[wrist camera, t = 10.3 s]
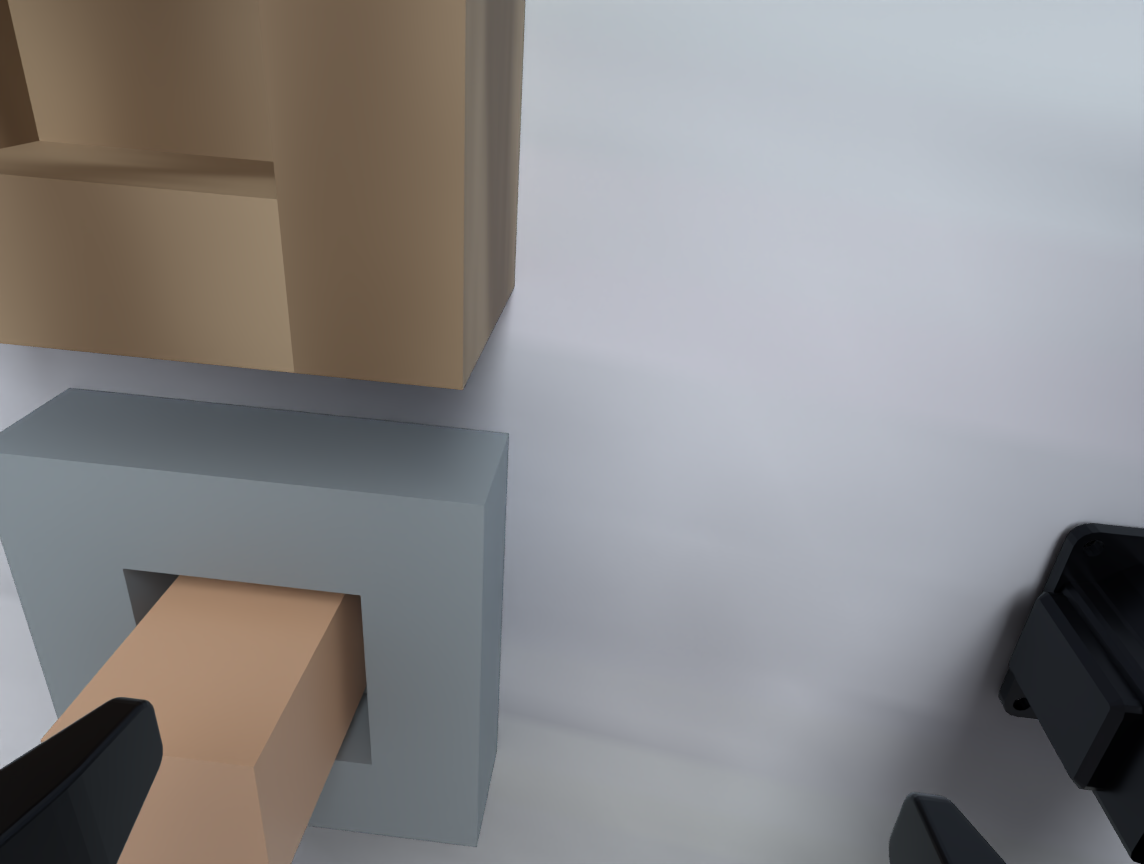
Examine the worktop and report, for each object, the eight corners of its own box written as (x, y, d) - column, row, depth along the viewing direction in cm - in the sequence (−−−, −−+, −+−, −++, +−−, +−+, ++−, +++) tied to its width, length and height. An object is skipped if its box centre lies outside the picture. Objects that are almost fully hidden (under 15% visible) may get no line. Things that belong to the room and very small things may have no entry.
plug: (364, 557, 22) (253, 767, 16) (370, 675, 24) (274, 901, 18) (209, 539, 22) (40, 740, 16) (228, 657, 24) (85, 875, 18)
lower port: (508, 433, 21) (484, 505, 18) (497, 750, 27) (476, 847, 24) (69, 387, 22) (-28, 450, 19) (147, 708, 27) (82, 797, 24)
